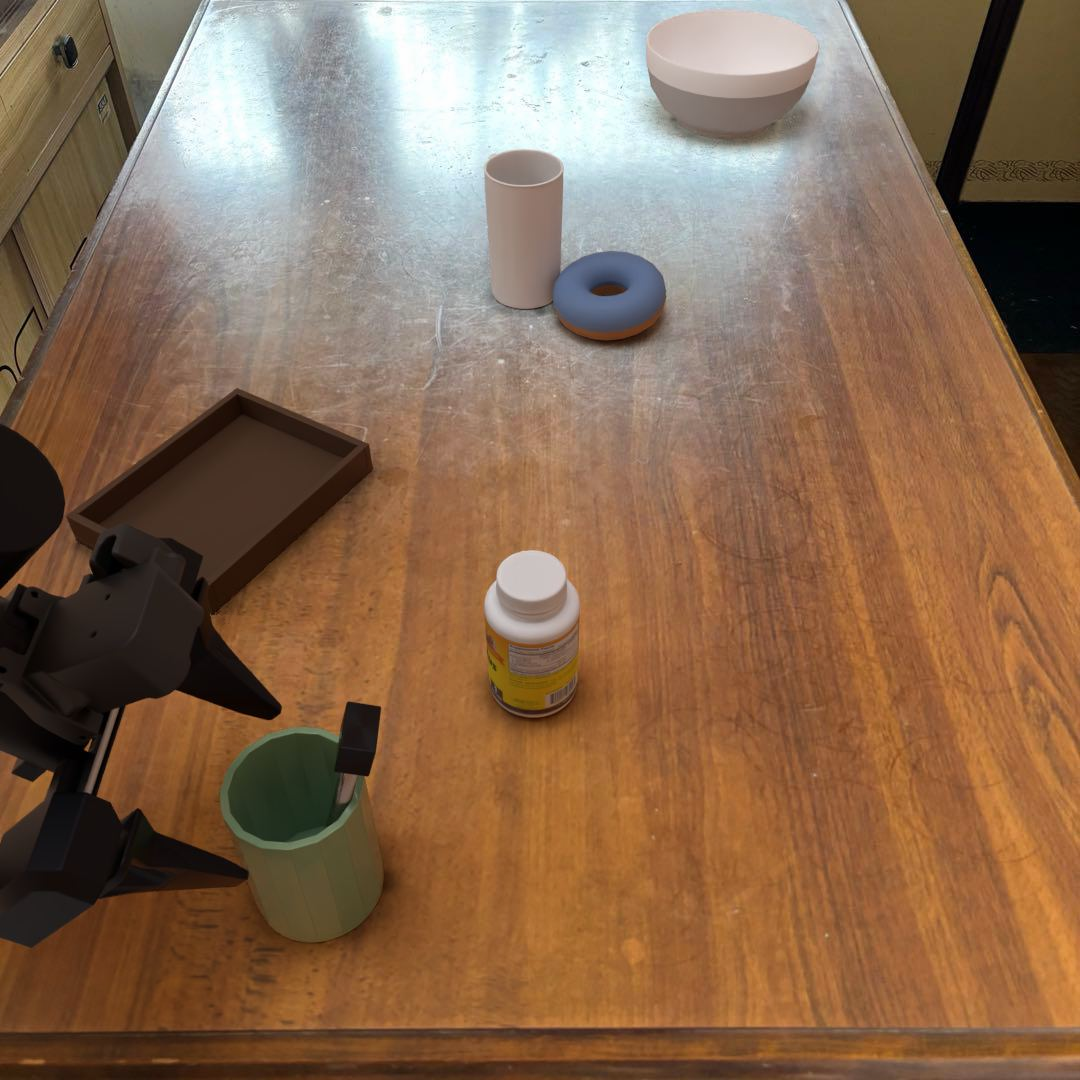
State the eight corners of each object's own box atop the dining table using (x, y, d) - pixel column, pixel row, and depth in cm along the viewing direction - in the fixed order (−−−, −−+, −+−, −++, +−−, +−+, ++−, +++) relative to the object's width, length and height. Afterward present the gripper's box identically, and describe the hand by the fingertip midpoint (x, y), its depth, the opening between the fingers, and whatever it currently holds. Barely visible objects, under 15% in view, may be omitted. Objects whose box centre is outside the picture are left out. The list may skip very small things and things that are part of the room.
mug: (576, 298, 100) (579, 173, 92) (511, 319, 98) (508, 193, 89) (521, 249, 106) (519, 128, 98) (460, 267, 104) (452, 145, 96)
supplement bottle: (496, 647, 71) (490, 534, 64) (582, 656, 71) (586, 543, 63) (481, 717, 67) (474, 606, 60) (572, 727, 67) (575, 615, 59)
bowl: (724, 172, 118) (734, 90, 111) (607, 113, 128) (610, 36, 122) (840, 123, 126) (855, 44, 120) (722, 71, 136) (730, -3, 130)
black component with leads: (311, 899, 58) (283, 746, 48) (318, 854, 60) (293, 698, 50) (387, 901, 58) (375, 749, 49) (392, 856, 60) (381, 701, 50)
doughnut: (562, 354, 94) (562, 308, 91) (544, 291, 101) (544, 247, 98) (676, 344, 95) (680, 298, 92) (650, 282, 102) (654, 238, 99)
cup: (266, 959, 57) (229, 867, 50) (248, 846, 61) (212, 747, 54) (396, 920, 58) (377, 825, 51) (369, 812, 63) (348, 712, 56)
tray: (213, 614, 73) (205, 588, 72) (76, 540, 78) (65, 515, 76) (373, 468, 84) (369, 443, 82) (243, 412, 89) (236, 387, 87)
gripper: (-58, 758, 35) (339, 918, 43) (105, 397, 48) (385, 569, 56) (-188, 883, 40) (183, 1004, 48) (-10, 528, 54) (259, 668, 61)
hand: (261, 791), depth 53 cm, fingers open, 9 cm apart
